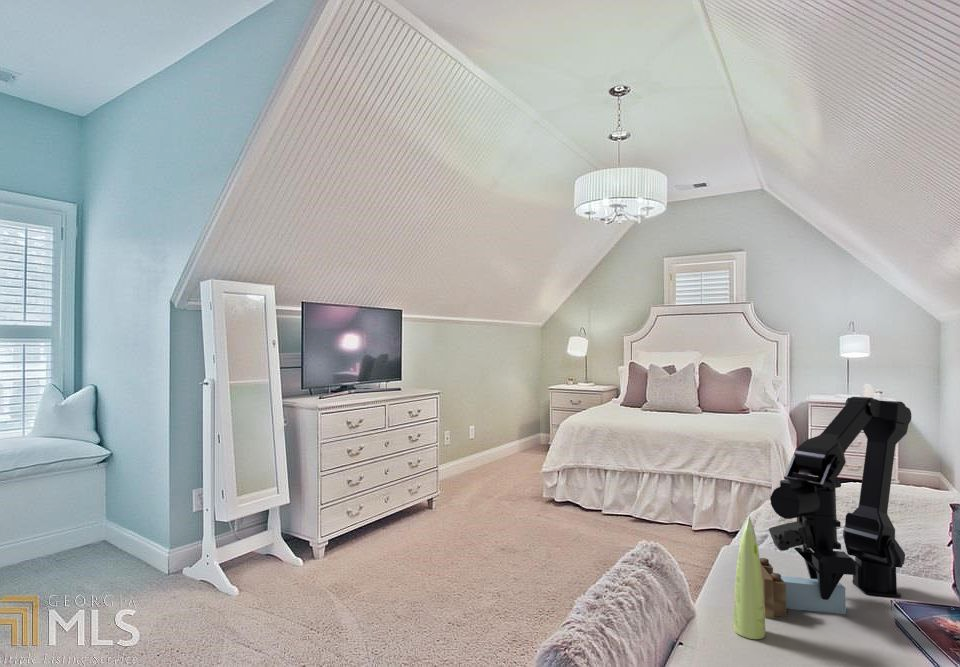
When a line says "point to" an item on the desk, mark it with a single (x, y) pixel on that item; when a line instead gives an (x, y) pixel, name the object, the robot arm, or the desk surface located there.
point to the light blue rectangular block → (813, 596)
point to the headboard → (773, 591)
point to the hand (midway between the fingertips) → (820, 594)
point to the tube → (749, 588)
